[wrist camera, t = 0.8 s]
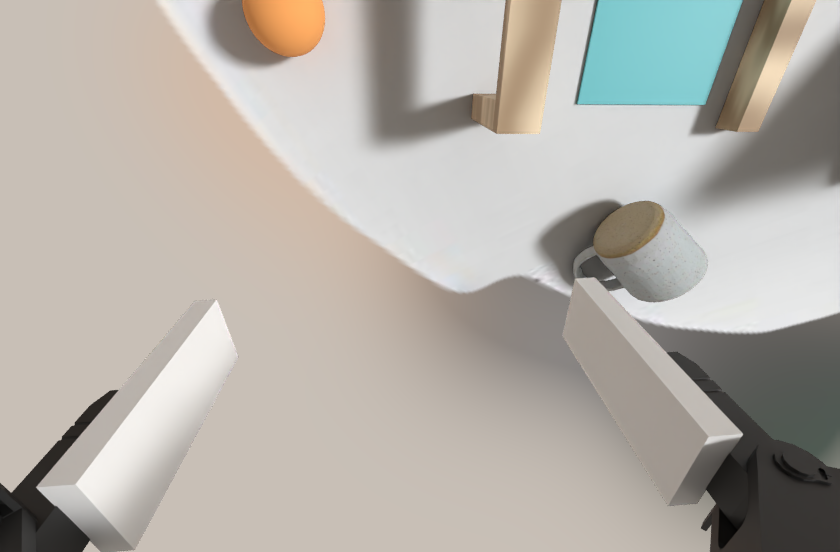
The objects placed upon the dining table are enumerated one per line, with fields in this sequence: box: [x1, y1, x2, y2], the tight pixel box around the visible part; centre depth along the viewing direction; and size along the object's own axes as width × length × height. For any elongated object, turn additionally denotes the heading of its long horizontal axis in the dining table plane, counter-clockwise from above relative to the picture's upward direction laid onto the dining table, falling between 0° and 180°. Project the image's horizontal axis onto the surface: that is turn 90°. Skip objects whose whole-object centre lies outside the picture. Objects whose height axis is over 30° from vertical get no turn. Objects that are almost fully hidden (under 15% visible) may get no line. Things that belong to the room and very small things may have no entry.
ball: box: [242, 0, 325, 57], centre depth 26 cm, size 6×6×6 cm
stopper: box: [715, 0, 816, 132], centre depth 29 cm, size 16×2×2 cm, turn 179°
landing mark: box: [577, 0, 743, 105], centre depth 30 cm, size 12×12×1 cm
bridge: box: [471, 0, 562, 134], centre depth 25 cm, size 3×14×9 cm, turn 179°
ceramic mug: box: [573, 201, 708, 302], centre depth 37 cm, size 11×8×8 cm
